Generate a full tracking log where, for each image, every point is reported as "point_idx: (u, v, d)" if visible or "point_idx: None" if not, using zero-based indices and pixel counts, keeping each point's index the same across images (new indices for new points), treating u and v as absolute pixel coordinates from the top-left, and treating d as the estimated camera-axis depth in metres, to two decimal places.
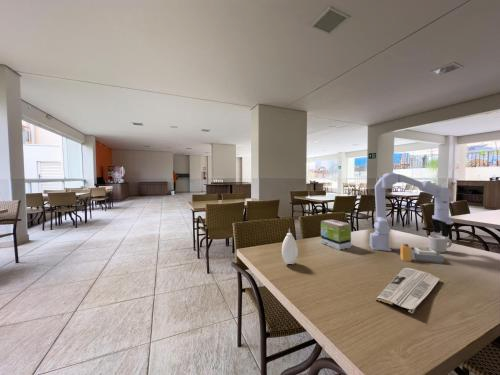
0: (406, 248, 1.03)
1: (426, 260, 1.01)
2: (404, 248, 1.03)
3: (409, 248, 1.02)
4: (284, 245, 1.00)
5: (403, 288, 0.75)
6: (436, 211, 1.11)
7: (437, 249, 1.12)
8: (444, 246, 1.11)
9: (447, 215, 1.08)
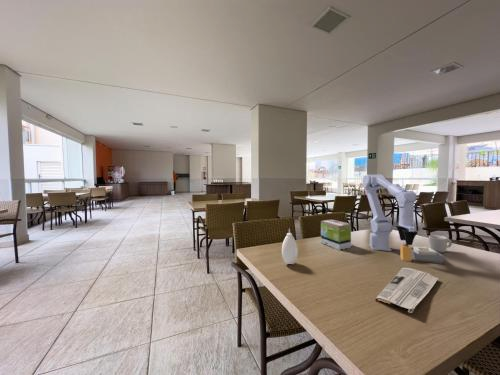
0: (406, 248, 1.03)
1: (426, 260, 1.01)
2: (404, 248, 1.03)
3: (409, 248, 1.02)
4: (284, 245, 1.00)
5: (402, 288, 0.75)
6: (400, 217, 1.04)
7: (437, 249, 1.12)
8: (444, 246, 1.11)
9: (411, 222, 1.01)
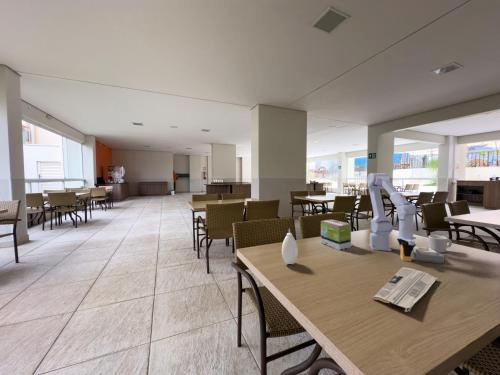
0: None
1: (426, 260, 1.01)
2: None
3: None
4: (284, 245, 1.00)
5: (400, 287, 0.75)
6: (400, 230, 1.04)
7: (437, 249, 1.12)
8: (444, 246, 1.11)
9: (411, 235, 1.01)
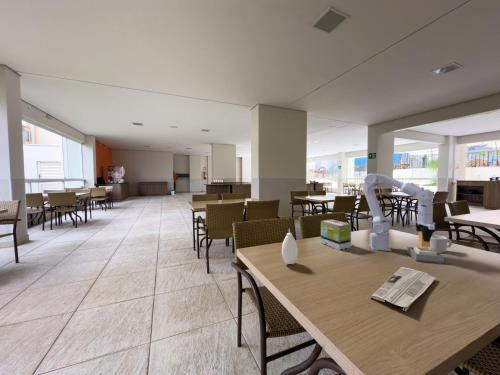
0: None
1: (426, 260, 1.01)
2: None
3: None
4: (284, 245, 1.00)
5: (398, 287, 0.76)
6: (419, 215, 1.05)
7: (437, 249, 1.12)
8: (444, 246, 1.11)
9: (430, 220, 1.02)
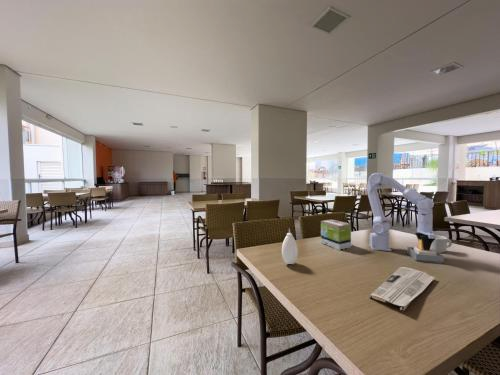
0: None
1: (426, 260, 1.01)
2: None
3: None
4: (284, 245, 1.00)
5: (397, 286, 0.76)
6: (419, 224, 1.05)
7: (437, 249, 1.12)
8: (444, 246, 1.11)
9: (430, 228, 1.02)
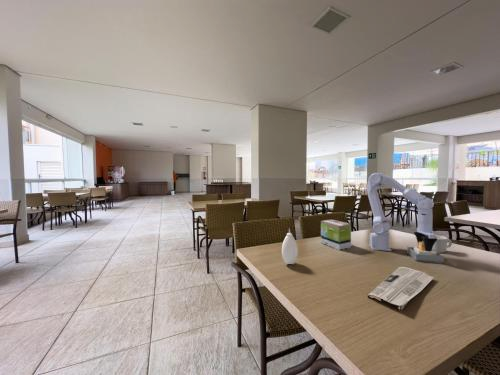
0: None
1: (426, 260, 1.01)
2: (423, 245, 1.04)
3: None
4: (284, 245, 1.00)
5: (395, 286, 0.76)
6: (419, 224, 1.05)
7: (437, 249, 1.12)
8: (444, 246, 1.11)
9: (430, 228, 1.02)
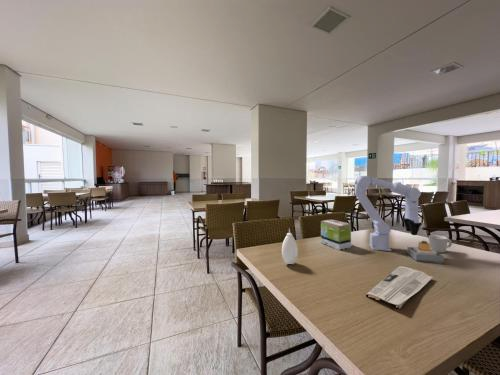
0: (425, 245, 1.04)
1: (426, 260, 1.01)
2: (423, 245, 1.04)
3: (428, 245, 1.04)
4: (284, 245, 1.00)
5: (393, 285, 0.77)
6: (406, 210, 1.16)
7: (437, 249, 1.12)
8: (444, 246, 1.11)
9: (416, 214, 1.13)
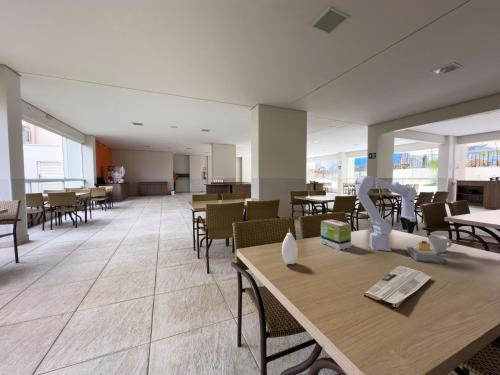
0: (425, 245, 1.04)
1: (426, 260, 1.01)
2: (423, 245, 1.04)
3: (428, 245, 1.04)
4: (284, 245, 1.00)
5: (392, 284, 0.77)
6: (403, 209, 1.19)
7: (437, 249, 1.12)
8: (444, 246, 1.11)
9: (412, 213, 1.17)
